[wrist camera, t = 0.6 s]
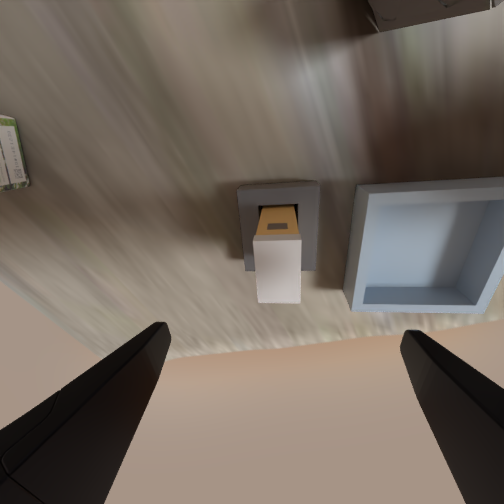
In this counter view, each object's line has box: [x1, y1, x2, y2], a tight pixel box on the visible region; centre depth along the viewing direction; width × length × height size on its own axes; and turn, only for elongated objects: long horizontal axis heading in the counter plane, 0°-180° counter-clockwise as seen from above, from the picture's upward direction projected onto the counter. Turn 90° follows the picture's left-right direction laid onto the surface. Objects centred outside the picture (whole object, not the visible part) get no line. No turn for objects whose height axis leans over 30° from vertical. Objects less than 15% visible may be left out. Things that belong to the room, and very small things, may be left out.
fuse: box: [253, 204, 302, 303], centre depth 16 cm, size 2×4×8 cm, turn 4°
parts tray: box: [343, 177, 504, 314], centre depth 18 cm, size 10×10×3 cm
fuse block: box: [237, 181, 320, 271], centre depth 19 cm, size 6×7×2 cm
